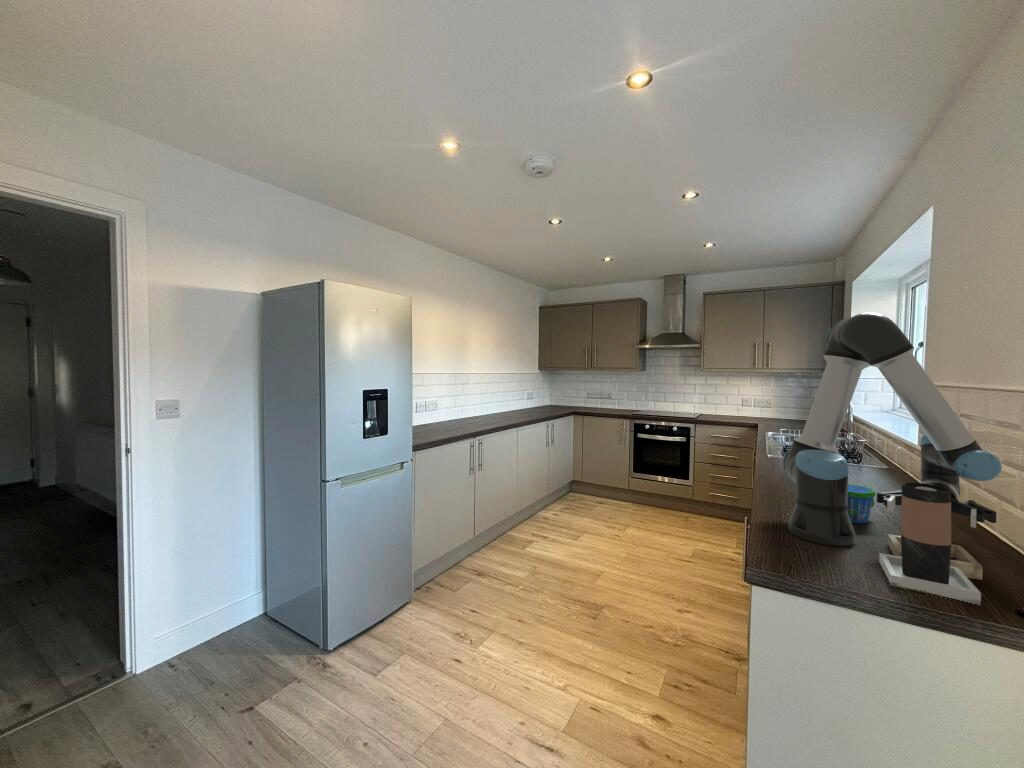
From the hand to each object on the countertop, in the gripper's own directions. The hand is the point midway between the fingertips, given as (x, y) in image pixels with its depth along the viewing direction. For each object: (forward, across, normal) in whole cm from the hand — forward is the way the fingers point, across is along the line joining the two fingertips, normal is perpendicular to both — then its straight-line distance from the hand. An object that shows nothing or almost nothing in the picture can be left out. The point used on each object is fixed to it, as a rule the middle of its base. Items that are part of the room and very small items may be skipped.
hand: (928, 513), depth 94 cm
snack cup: (-28, +19, -13) cm, 36 cm away
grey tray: (+9, 0, -13) cm, 16 cm away
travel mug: (+9, 0, -12) cm, 15 cm away
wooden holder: (-6, 0, -13) cm, 14 cm away
